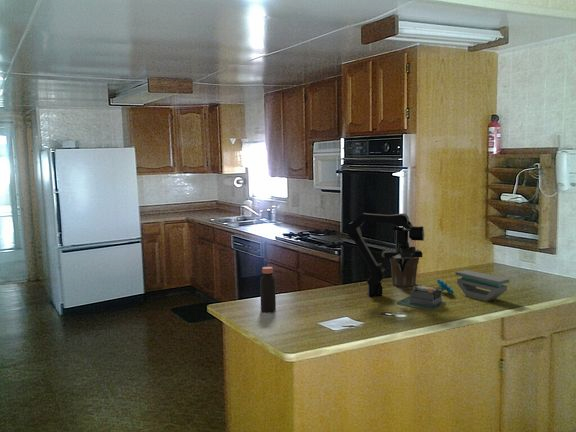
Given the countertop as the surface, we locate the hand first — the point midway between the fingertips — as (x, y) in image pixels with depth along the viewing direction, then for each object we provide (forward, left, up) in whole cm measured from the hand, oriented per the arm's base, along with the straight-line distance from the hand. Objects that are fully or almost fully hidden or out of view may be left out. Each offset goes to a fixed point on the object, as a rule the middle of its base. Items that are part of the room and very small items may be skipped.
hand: (401, 271), depth 261 cm
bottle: (-66, -13, -13) cm, 69 cm away
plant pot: (+9, +25, -13) cm, 30 cm away
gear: (+23, +4, -13) cm, 27 cm away
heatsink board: (+6, -12, -13) cm, 18 cm away
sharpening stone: (+38, -5, -13) cm, 41 cm away
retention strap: (+7, -13, -6) cm, 16 cm away
